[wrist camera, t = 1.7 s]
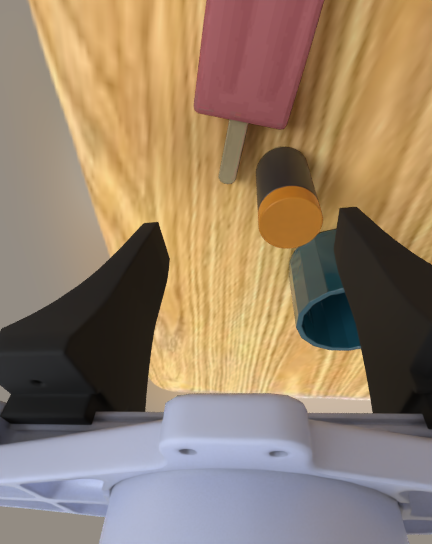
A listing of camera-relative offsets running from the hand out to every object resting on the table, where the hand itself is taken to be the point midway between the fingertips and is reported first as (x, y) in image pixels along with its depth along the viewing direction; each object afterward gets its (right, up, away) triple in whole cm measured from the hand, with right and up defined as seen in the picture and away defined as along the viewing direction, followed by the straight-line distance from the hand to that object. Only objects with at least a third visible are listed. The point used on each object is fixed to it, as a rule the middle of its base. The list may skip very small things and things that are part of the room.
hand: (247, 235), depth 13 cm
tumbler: (+9, -1, +14) cm, 16 cm away
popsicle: (+1, +10, +4) cm, 11 cm away
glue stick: (+3, +5, +9) cm, 10 cm away
